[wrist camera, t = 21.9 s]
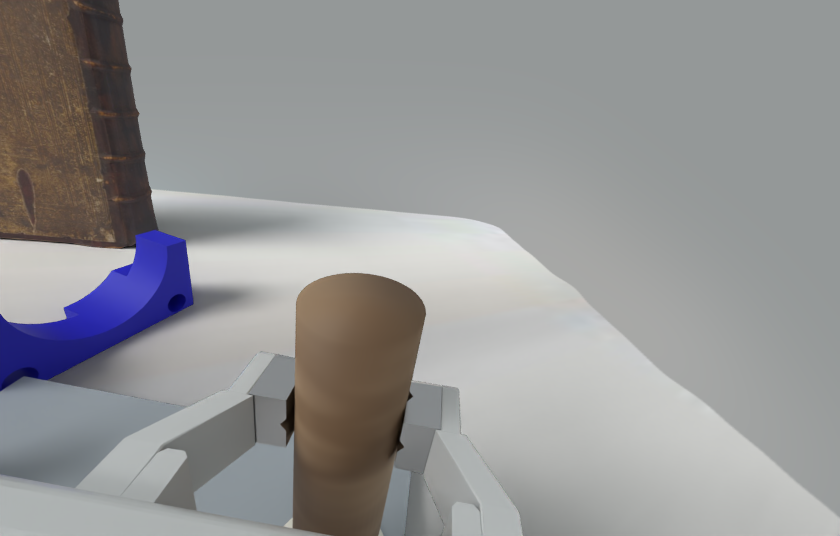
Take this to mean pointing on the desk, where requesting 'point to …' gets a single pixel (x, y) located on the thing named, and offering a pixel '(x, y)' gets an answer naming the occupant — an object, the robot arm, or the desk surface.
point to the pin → (350, 398)
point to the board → (124, 415)
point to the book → (69, 126)
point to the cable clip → (102, 313)
